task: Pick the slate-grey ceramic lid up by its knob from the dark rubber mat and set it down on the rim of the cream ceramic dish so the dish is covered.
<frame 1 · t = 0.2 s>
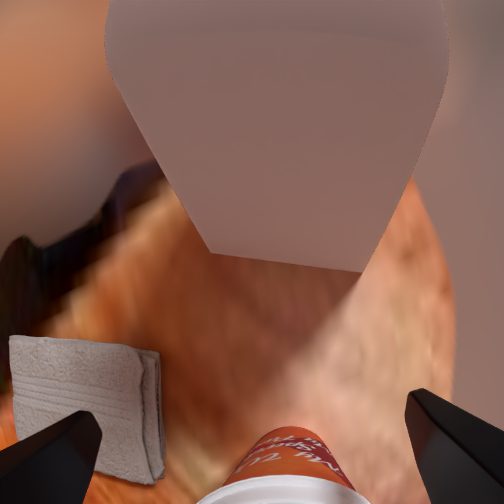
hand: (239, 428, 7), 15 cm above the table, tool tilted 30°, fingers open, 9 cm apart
washcloth: (83, 403, 23), on the table
milk: (295, 198, 26), on the table
paper cup: (289, 458, 19), on the table
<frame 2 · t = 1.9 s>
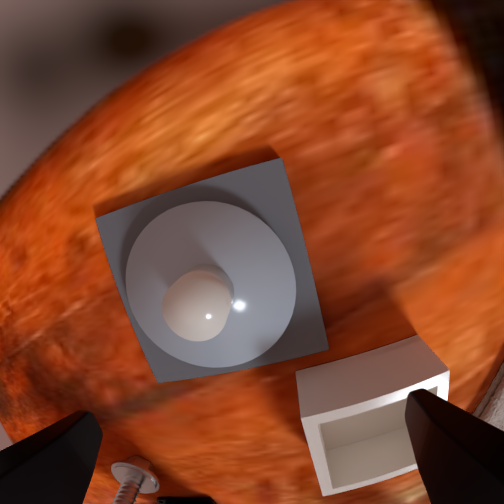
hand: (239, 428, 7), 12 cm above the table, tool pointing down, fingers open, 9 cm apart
screw: (141, 462, 24), on the table
washcloth: (495, 417, 21), on the table
dish: (365, 401, 20), on the table
lid: (209, 286, 18), point 1 cm above the table, touching mat
mat: (211, 282, 19), on the table
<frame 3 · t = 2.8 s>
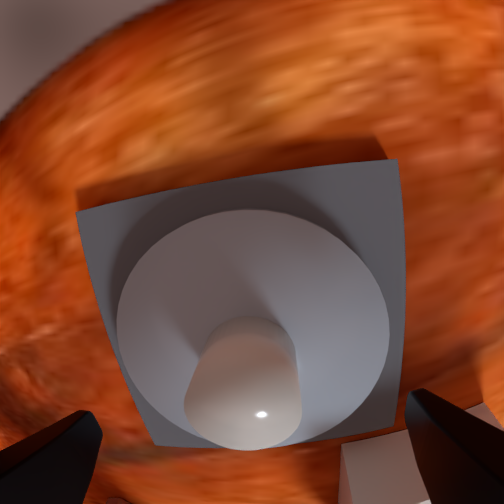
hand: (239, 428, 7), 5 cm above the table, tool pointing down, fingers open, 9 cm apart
screw: (124, 503, 17), on the table
dish: (407, 469, 14), on the table
lid: (251, 343, 11), point 1 cm above the table, touching mat
mat: (252, 333, 12), on the table
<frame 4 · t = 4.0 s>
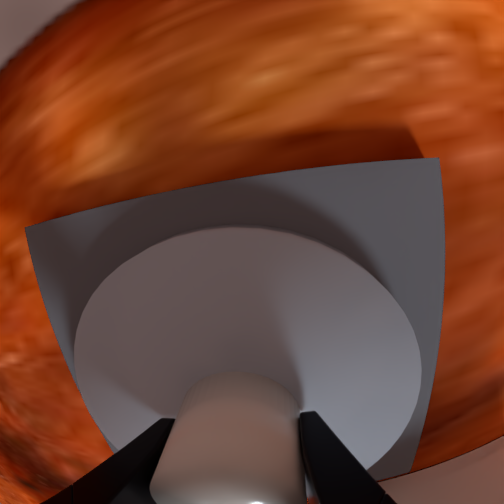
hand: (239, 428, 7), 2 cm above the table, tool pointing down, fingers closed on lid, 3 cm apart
lid: (243, 395, 9), point 1 cm above the table, touching gripper, mat
mat: (245, 380, 9), on the table
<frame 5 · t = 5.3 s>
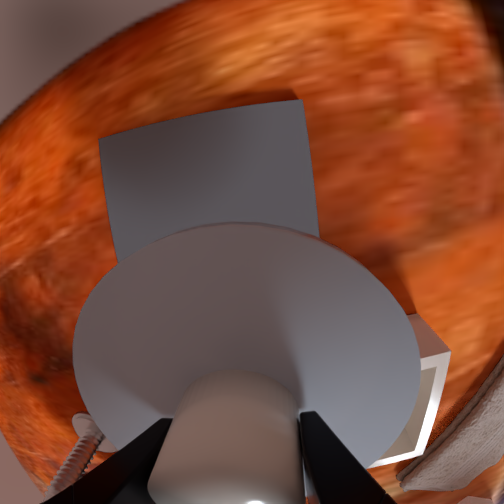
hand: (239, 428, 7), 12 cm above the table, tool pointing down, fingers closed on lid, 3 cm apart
screw: (105, 418, 23), on the table
washcloth: (477, 424, 22), on the table
dish: (353, 379, 20), on the table
lid: (242, 393, 9), point 10 cm above the table, touching gripper
mat: (209, 220, 18), on the table
when the fingers open (7 cm above the table, at t = 6.8 s): lid drops 1 cm, resting on dish.
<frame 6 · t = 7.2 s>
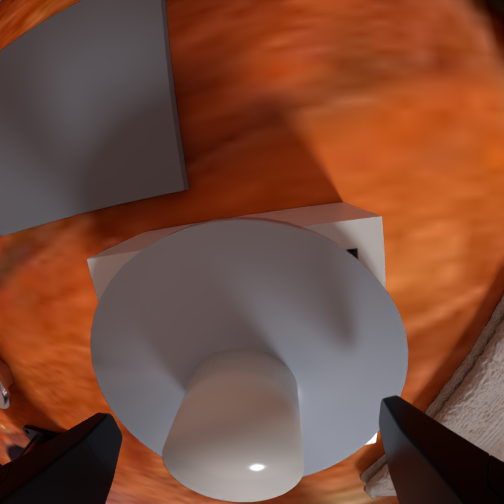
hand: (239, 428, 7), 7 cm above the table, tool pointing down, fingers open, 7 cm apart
screw: (4, 369, 18), on the table
washcloth: (476, 405, 16), on the table
dish: (255, 312, 14), on the table
lid: (246, 374, 10), point 5 cm above the table, touching dish
mat: (66, 102, 13), on the table
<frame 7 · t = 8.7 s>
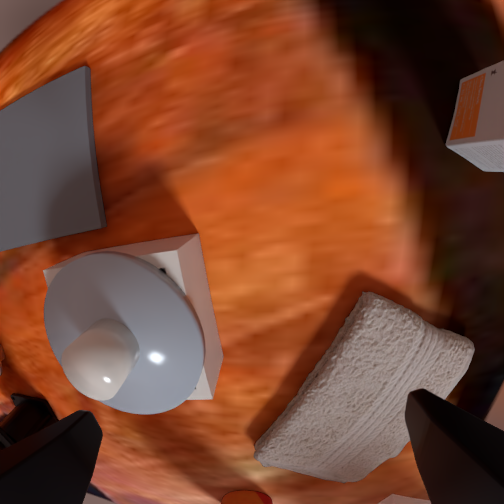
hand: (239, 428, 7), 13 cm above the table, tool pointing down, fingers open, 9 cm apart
washcloth: (358, 398, 23), on the table
dish: (150, 305, 21), on the table
lid: (120, 337, 16), point 5 cm above the table, touching dish
mat: (35, 164, 19), on the table
paper cup: (247, 500, 26), on the table
skincare box: (470, 125, 17), on the table
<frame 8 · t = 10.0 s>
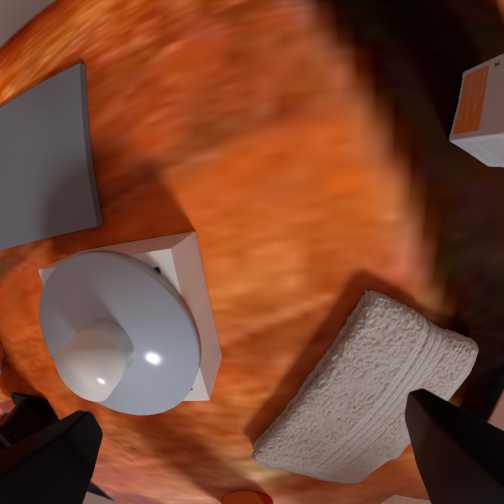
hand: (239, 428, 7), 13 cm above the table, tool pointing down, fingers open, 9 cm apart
washcloth: (359, 399, 22), on the table
dish: (147, 304, 21), on the table
lid: (116, 337, 16), point 5 cm above the table, touching dish
mat: (32, 163, 19), on the table
paper cup: (248, 500, 26), on the table
skincare box: (474, 119, 16), on the table
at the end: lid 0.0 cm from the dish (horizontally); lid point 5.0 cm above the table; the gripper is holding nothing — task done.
